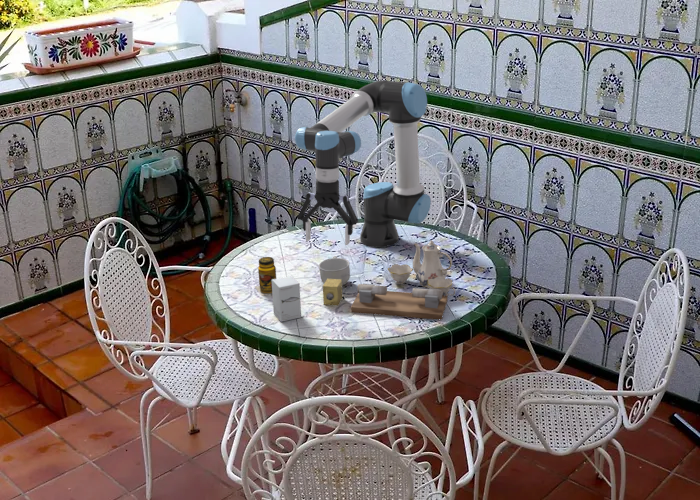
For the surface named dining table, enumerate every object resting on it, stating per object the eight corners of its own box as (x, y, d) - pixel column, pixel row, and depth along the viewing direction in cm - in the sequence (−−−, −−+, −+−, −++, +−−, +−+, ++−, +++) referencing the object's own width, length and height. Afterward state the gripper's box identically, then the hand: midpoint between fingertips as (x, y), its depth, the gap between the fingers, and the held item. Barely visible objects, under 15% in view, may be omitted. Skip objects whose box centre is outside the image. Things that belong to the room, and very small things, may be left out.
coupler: (323, 305, 283) (322, 287, 281) (329, 296, 290) (328, 277, 287) (337, 306, 282) (336, 288, 279) (343, 297, 289) (342, 278, 286)
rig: (360, 294, 290) (360, 275, 288) (447, 301, 283) (447, 282, 281) (350, 312, 278) (350, 293, 275) (441, 320, 271) (441, 300, 268)
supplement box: (280, 322, 273) (278, 287, 268) (273, 313, 279) (270, 278, 274) (302, 318, 275) (299, 283, 271) (294, 308, 282) (292, 274, 277)
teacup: (346, 291, 293) (346, 270, 290) (316, 289, 295) (315, 268, 292) (354, 274, 305) (353, 254, 302) (325, 273, 307) (324, 253, 304)
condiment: (262, 296, 291) (259, 264, 287) (254, 287, 299) (251, 256, 294) (282, 291, 294) (280, 260, 290) (273, 282, 301) (271, 252, 297)
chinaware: (380, 288, 298) (376, 246, 290) (406, 267, 309) (403, 227, 302) (448, 308, 282) (446, 264, 274) (473, 285, 293) (472, 243, 286)
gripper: (286, 179, 271) (288, 241, 278) (361, 185, 265) (361, 249, 272) (294, 174, 278) (296, 234, 285) (367, 179, 271) (367, 241, 279)
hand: (327, 242), depth 279 cm, fingers open, 13 cm apart
